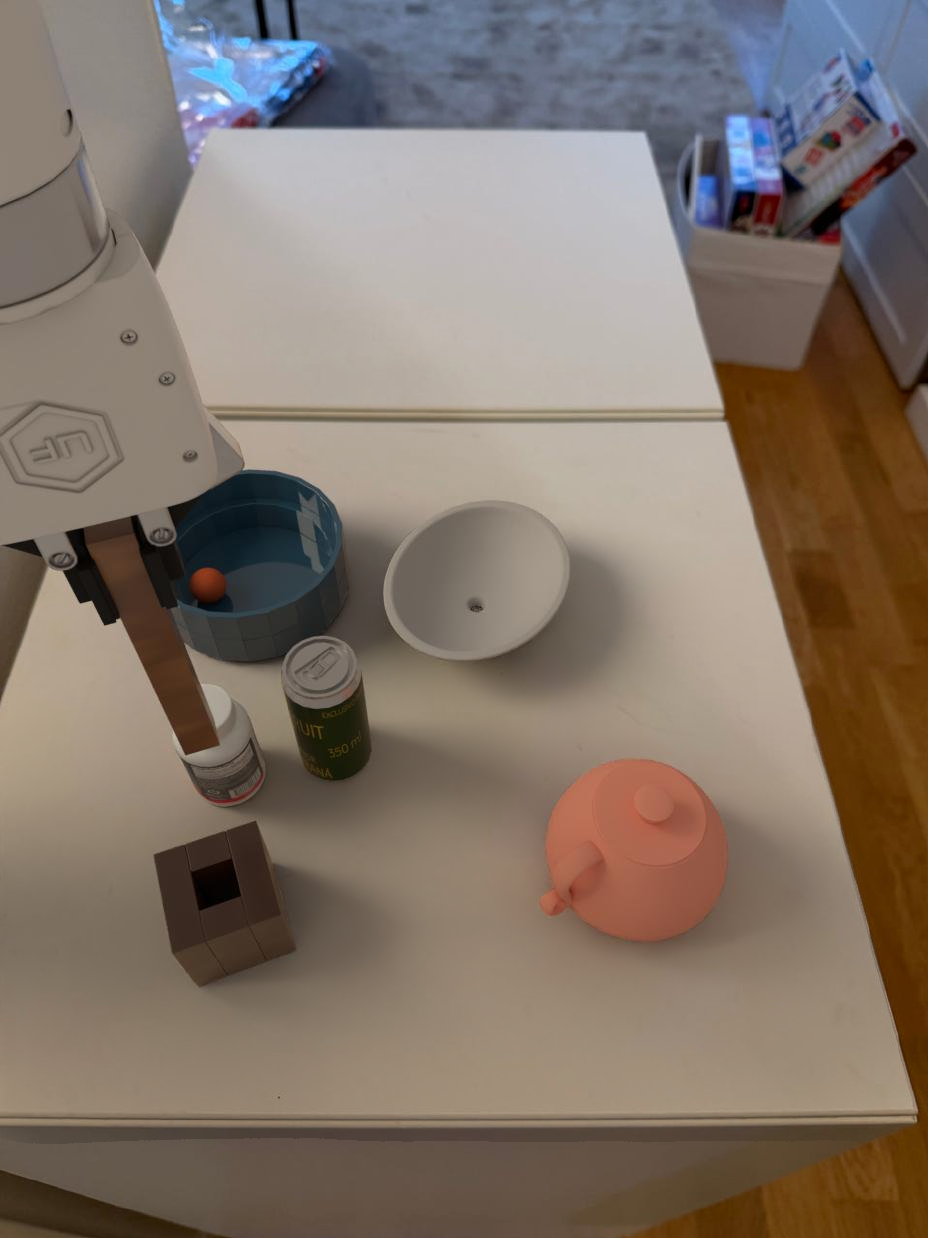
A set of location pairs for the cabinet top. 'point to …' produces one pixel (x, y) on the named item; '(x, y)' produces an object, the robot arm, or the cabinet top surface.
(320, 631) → the bowl
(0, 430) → the robot arm
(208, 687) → the pill bottle
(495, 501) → the dish
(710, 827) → the pink teapot
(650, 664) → the cabinet top surface
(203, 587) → the ball
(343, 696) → the green drink can
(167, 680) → the brown wooden stick
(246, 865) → the stick stand
